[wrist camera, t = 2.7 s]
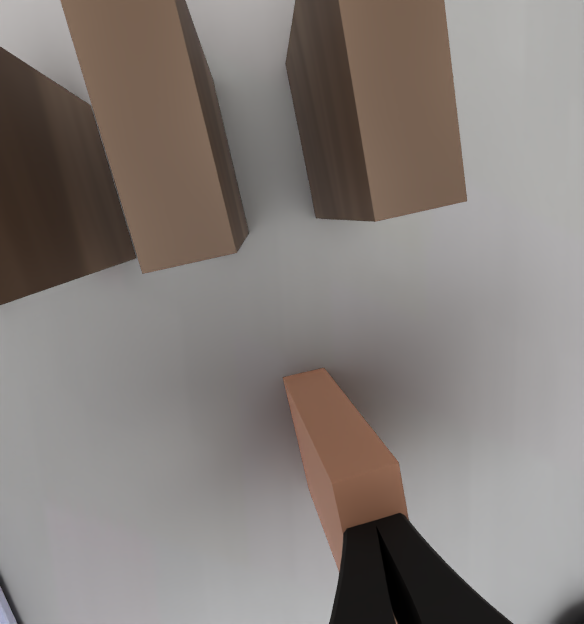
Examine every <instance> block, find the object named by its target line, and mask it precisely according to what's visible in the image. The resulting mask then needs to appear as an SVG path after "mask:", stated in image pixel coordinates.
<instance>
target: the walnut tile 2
mask: <svg viewBox="0 0 584 624" xmlns="http://www.w3.org/2000/svg"><path fill="white" fill-rule="evenodd" d="M133 259H136V255H135V252H134V248H133V245H132V242H131V238H130V235H129V232H128V228H127V225H126V222H125V219H124V215H123V212H122V209H121V205H120V202H119V199H118V195H117V192H116V189H115V185H114V182H113V179H112V175H111V172H110V169H109V165H108V162H107V159H106V155H105V152H104V149H103V145H102V142H101V139H100V135H99V132H98V129H97V125H96V122H95V119H94V115H93V112H92V109H91V105H89V104H88V103H86V102H85V101H83V100H82V99H80V98H79V97H77V96H75V95H74V94H72V93H71V92H69V91H68V90H66V89H65V88H63V87H62V86H60V85H59V84H57V83H55V82H54V81H52V80H51V79H49V78H48V77H46V76H45V75H43V74H42V73H40V72H39V71H37V70H35V69H34V68H32V67H31V66H29V65H28V64H26V63H25V62H23V61H22V60H20V59H19V58H17V57H16V56H14V55H12V54H11V53H9V52H8V51H6V50H5V49H3V48H2V47H0V305H2V304H5V303H8V302H11V301H14V300H16V299H19V298H22V297H25V296H28V295H31V294H34V293H37V292H40V291H43V290H46V289H48V288H51V287H54V286H57V285H60V284H63V283H66V282H69V281H72V280H75V279H77V278H80V277H83V276H86V275H89V274H92V273H95V272H98V271H101V270H104V269H106V268H109V267H112V266H115V265H118V264H121V263H124V262H127V261H130V260H133Z"/></svg>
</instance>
